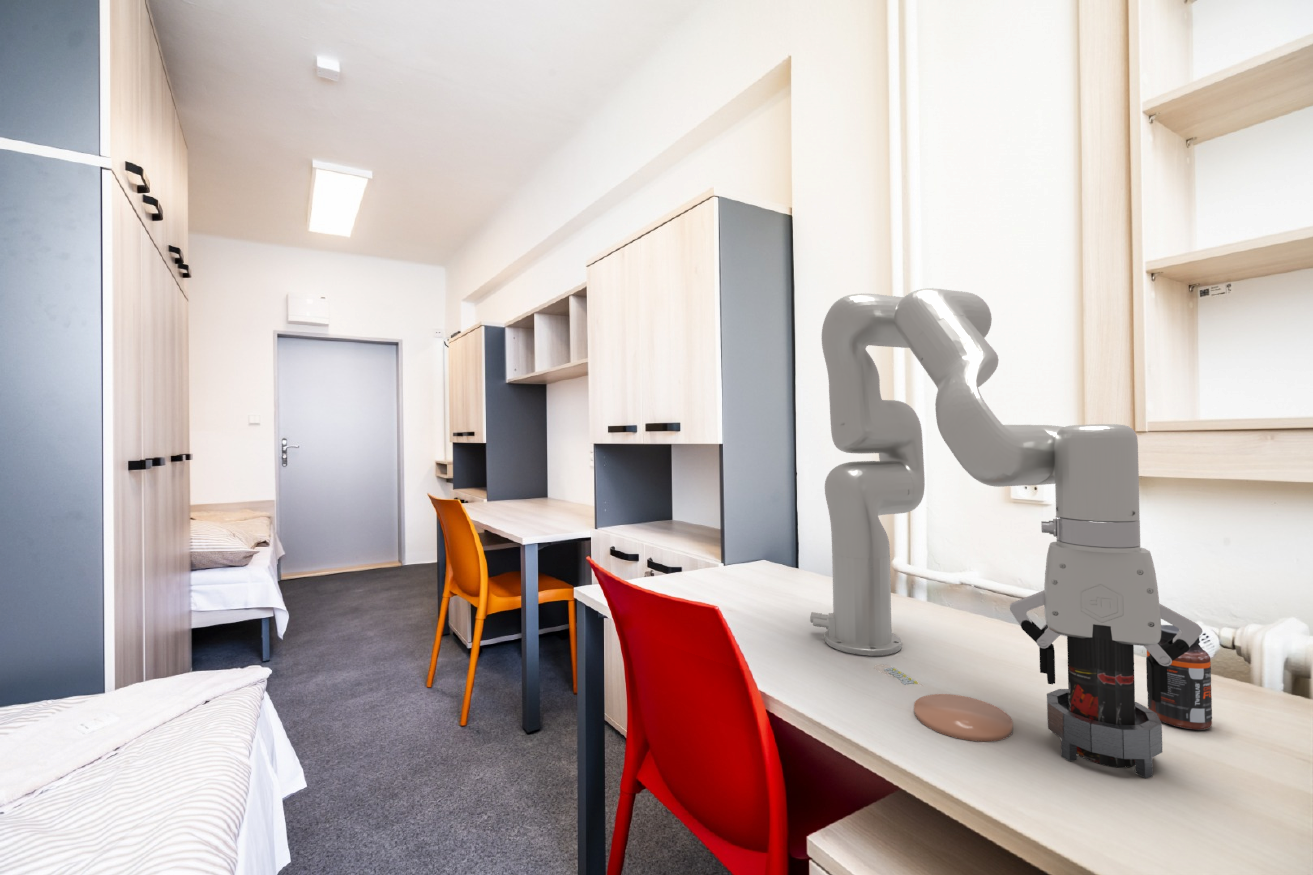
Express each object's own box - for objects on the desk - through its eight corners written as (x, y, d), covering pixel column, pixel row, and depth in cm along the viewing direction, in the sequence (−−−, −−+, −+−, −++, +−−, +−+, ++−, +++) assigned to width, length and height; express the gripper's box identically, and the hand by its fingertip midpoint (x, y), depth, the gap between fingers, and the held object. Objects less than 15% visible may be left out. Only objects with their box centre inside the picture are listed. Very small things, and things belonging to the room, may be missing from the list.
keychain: (932, 688, 82) (914, 691, 81) (932, 692, 82) (914, 695, 81) (886, 661, 92) (869, 663, 91) (886, 665, 92) (869, 667, 91)
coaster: (907, 726, 71) (907, 720, 72) (920, 693, 81) (920, 687, 81) (1012, 750, 66) (1012, 743, 66) (1013, 711, 75) (1013, 705, 75)
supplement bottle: (1219, 737, 68) (1216, 640, 68) (1152, 724, 71) (1150, 632, 71) (1205, 716, 73) (1202, 626, 73) (1144, 705, 76) (1141, 619, 76)
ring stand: (1050, 761, 63) (1049, 715, 63) (1046, 723, 72) (1045, 682, 72) (1170, 788, 58) (1169, 738, 58) (1151, 744, 67) (1150, 700, 67)
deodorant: (1149, 769, 61) (1145, 627, 62) (1085, 764, 63) (1082, 625, 63) (1116, 741, 67) (1113, 611, 67) (1059, 737, 68) (1056, 609, 69)
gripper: (1006, 533, 67) (1009, 684, 66) (1210, 545, 57) (1215, 721, 57) (1007, 525, 73) (1010, 663, 73) (1191, 534, 64) (1195, 692, 64)
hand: (1100, 688), depth 65 cm, fingers open, 8 cm apart
